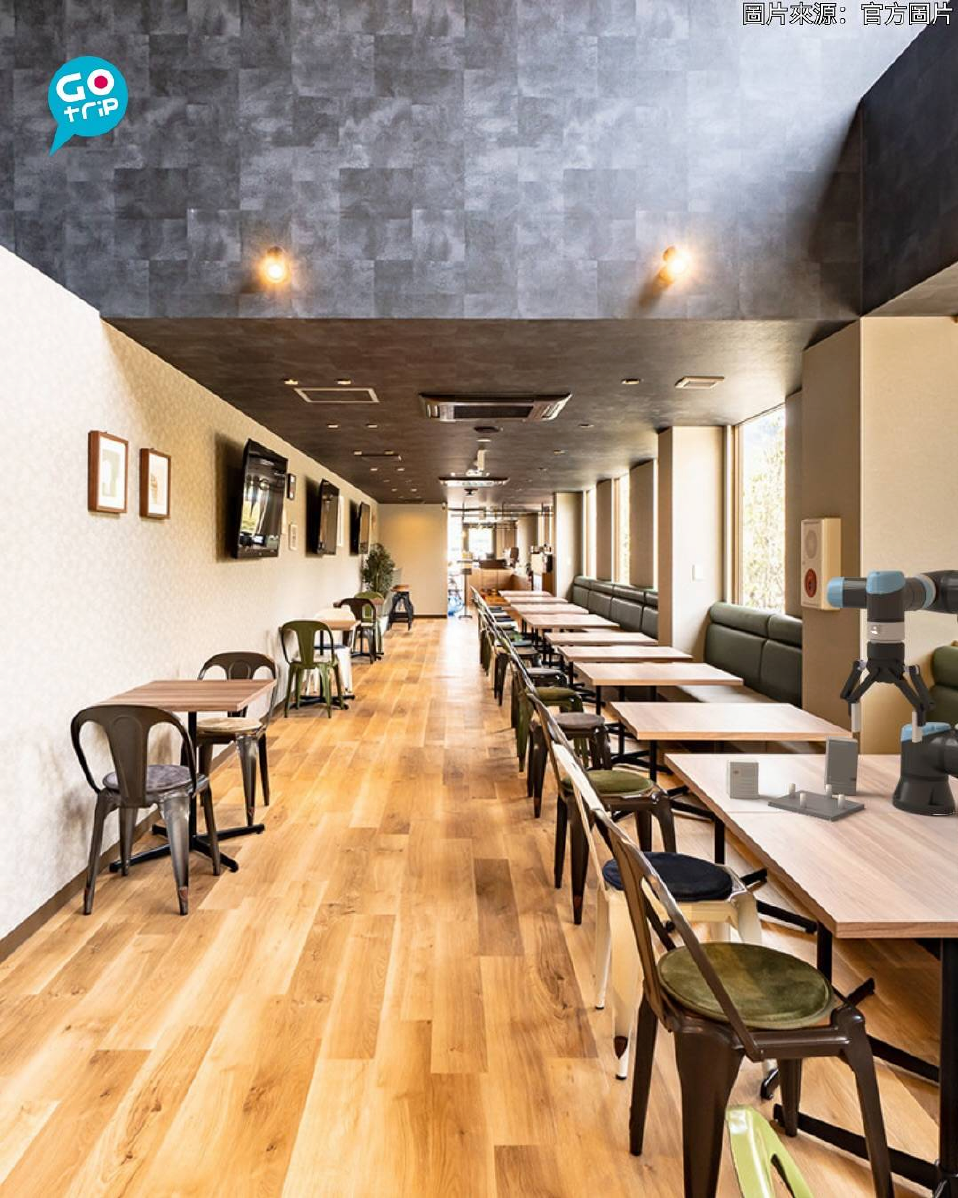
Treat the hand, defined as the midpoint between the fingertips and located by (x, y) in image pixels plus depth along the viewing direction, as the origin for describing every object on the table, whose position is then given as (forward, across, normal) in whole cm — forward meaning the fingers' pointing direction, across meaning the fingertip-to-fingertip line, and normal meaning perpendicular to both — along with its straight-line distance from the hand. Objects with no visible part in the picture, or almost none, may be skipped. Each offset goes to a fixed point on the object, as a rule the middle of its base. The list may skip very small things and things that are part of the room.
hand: (885, 736), depth 184 cm
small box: (+28, -51, +17) cm, 61 cm away
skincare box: (+29, -37, +44) cm, 65 cm away
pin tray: (+28, -32, +25) cm, 49 cm away
